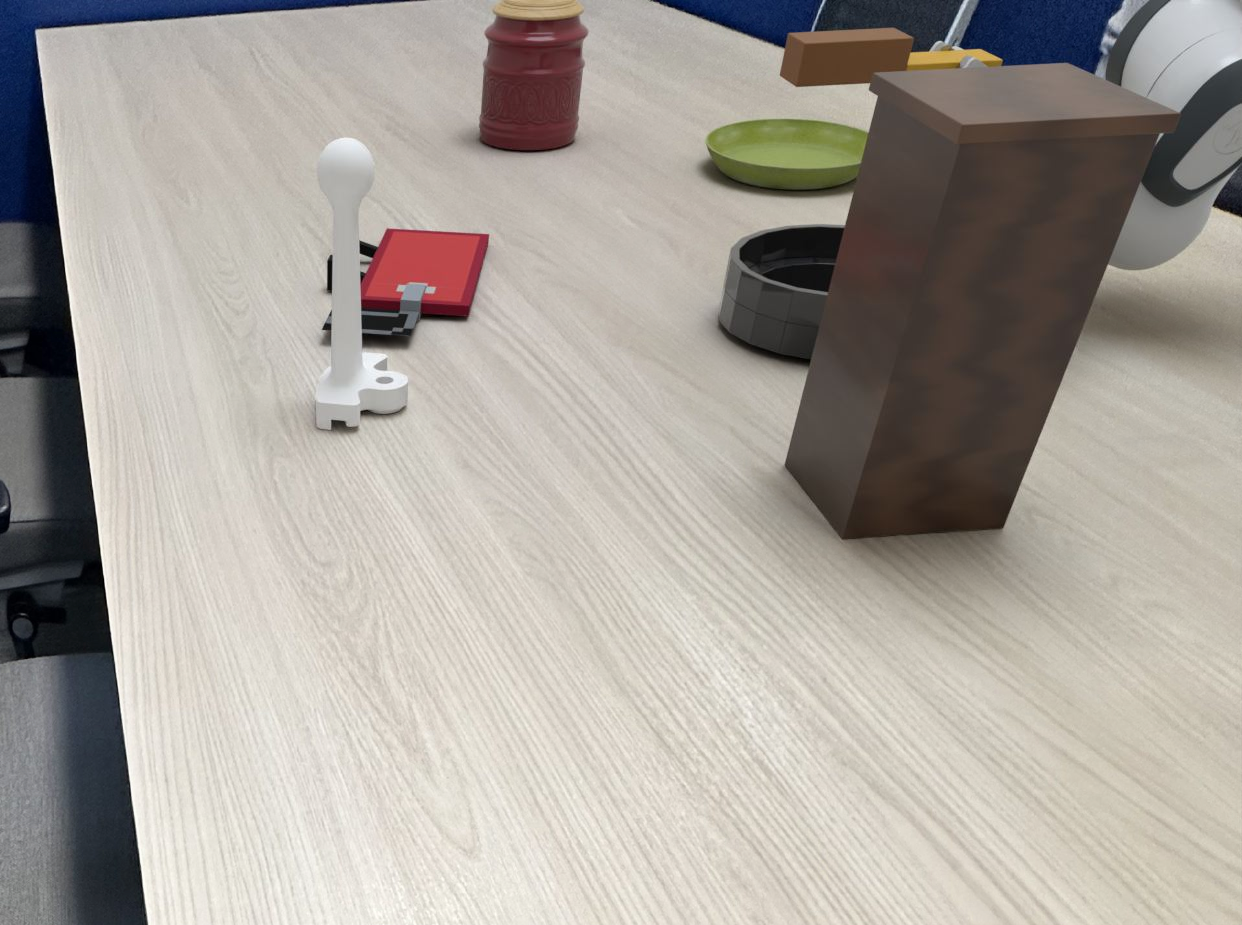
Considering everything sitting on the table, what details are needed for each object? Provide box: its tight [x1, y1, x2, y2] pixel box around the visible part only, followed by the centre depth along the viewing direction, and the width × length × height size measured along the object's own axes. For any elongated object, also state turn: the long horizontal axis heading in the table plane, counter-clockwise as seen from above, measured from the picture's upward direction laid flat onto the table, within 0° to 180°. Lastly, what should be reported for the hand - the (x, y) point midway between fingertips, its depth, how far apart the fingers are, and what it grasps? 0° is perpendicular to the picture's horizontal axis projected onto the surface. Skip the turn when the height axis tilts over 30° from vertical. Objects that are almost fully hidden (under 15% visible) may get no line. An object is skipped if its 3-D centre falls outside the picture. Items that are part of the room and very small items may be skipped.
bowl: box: [718, 223, 845, 360], centre depth 117 cm, size 20×20×6 cm
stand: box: [784, 62, 1181, 540], centre depth 86 cm, size 13×13×26 cm
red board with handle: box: [321, 227, 490, 337], centre depth 127 cm, size 30×3×15 cm
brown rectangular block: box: [779, 27, 1003, 88], centre depth 103 cm, size 17×4×3 cm, turn 95°
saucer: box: [705, 118, 869, 191], centre depth 152 cm, size 21×21×3 cm
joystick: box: [315, 137, 409, 431], centre depth 102 cm, size 11×8×20 cm
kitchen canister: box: [478, 0, 590, 151], centre depth 160 cm, size 13×13×18 cm
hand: (947, 58), depth 104 cm, fingers closed on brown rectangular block, 4 cm apart
